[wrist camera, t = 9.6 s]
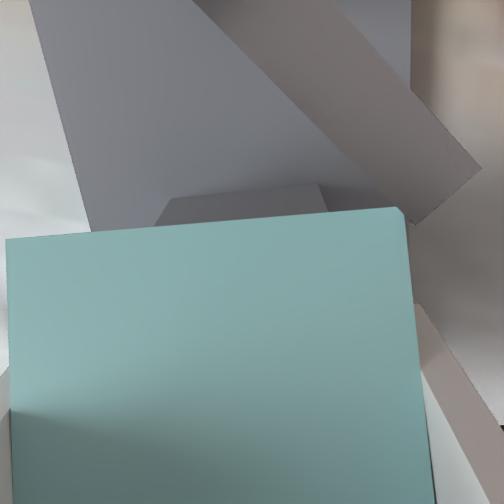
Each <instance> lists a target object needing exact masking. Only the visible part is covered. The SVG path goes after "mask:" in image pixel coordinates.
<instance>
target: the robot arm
mask: <svg viewBox="0 0 504 504" xmlns="http://www.w3.org/2000/svg"><path fill="white" fill-rule="evenodd" d="M414 313H415V322H416V332H417V341H418V350H419V360H420V371H421V379H422V388H423V397H424V407H425V416H426V425H427V435H428V444H429V453H430V463H431V472H432V481H433V491H434V500H435V504H504V425H499V424H498V422H497V421H496V419H495V418H494V416H493V415H492V413H491V412H490V410H489V409H488V407H487V405H486V404H485V402H484V401H483V399H482V398H481V396H480V395H479V393H478V392H477V390H476V389H475V387H474V386H473V384H472V383H471V381H470V380H469V378H468V376H467V375H466V373H465V372H464V370H463V369H462V367H461V366H460V364H459V363H458V361H457V360H456V358H455V357H454V355H453V354H452V352H451V351H450V349H449V347H448V346H447V344H446V343H445V341H444V340H443V338H442V337H441V335H440V334H439V332H438V331H437V329H436V328H435V326H434V325H433V323H432V322H431V320H430V318H429V317H428V315H427V314H426V312H425V311H424V309H423V308H422V306H421V305H420V303H418V304H414ZM0 504H13V474H12V440H11V407H10V373H9V367H8V368H7V369H6V370H5V372H4V373H3V374H2V376H1V377H0Z"/></svg>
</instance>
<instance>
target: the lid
mask: <svg viewBox="0 0 504 504" xmlns="http://www.w3.org/2000/svg"><path fill="white" fill-rule="evenodd" d="M6 272H7V306H8V339H9V373H10V407H11V440H12V474H13V504H435V500H434V491H433V481H432V472H431V463H430V453H429V444H428V435H427V425H426V416H425V407H424V397H423V388H422V379H421V371H420V360H419V350H418V341H417V332H416V322H415V313H414V303H413V294H412V285H411V275H410V266H409V257H408V247H407V238H406V229H405V219H404V214H403V213H402V212H401V211H400V210H399V209H398V208H397V207H386V208H374V209H362V210H350V211H338V212H326V213H314V214H302V215H290V216H278V217H266V218H254V219H242V220H230V221H218V222H206V223H194V224H182V225H170V226H158V227H146V228H134V229H122V230H110V231H98V232H86V233H74V234H62V235H50V236H38V237H26V238H14V239H6Z"/></svg>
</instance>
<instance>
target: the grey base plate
mask: <svg viewBox="0 0 504 504" xmlns="http://www.w3.org/2000/svg"><path fill="white" fill-rule="evenodd" d="M332 1H333V2H334V3H335V4H336V6H337V7H338V8H339V9H340V10H341V11H342V12H343V13H344V15H345V16H346V17H347V18H348V19H349V20H350V21H351V22H352V23H353V25H354V26H355V27H356V28H357V29H358V30H359V31H360V32H361V34H362V35H363V36H364V37H365V38H366V39H367V40H368V41H369V43H370V44H371V45H372V46H373V47H374V48H375V49H376V50H377V52H378V53H379V54H380V55H381V56H382V57H383V58H384V59H385V61H386V62H387V63H388V64H389V65H390V66H391V67H392V68H393V70H394V71H395V72H396V73H397V74H398V75H399V76H400V77H401V78H402V80H403V81H404V82H405V83H406V84H407V85H408V86H409V87H410V71H411V0H332ZM29 3H30V7H31V10H32V14H33V18H34V21H35V25H36V29H37V33H38V36H39V40H40V44H41V47H42V51H43V55H44V59H45V62H46V66H47V70H48V73H49V77H50V81H51V84H52V88H53V92H54V96H55V99H56V103H57V107H58V110H59V114H60V118H61V121H62V125H63V129H64V133H65V136H66V140H67V144H68V147H69V151H70V155H71V158H72V162H73V166H74V170H75V173H76V177H77V181H78V184H79V188H80V192H81V195H82V199H83V203H84V207H85V210H86V214H87V218H88V221H89V225H90V229H91V232H98V231H110V230H122V229H134V228H146V227H158V226H170V225H182V224H194V223H206V222H218V221H230V220H242V219H254V218H266V217H278V216H290V215H302V214H314V213H326V212H338V211H350V210H362V209H374V208H386V207H396V206H395V205H394V204H393V203H392V202H391V201H390V200H389V199H388V198H387V197H386V196H385V195H384V194H383V193H382V192H381V191H380V190H379V189H378V188H377V187H376V186H375V185H374V184H373V183H372V182H371V181H370V180H369V179H368V178H367V177H366V176H365V175H364V174H363V173H362V172H361V171H360V170H359V169H358V168H357V167H356V166H355V165H354V163H353V162H352V161H351V160H350V159H349V158H348V157H347V156H346V155H345V154H344V153H343V152H342V151H341V150H340V149H339V148H338V147H337V146H336V145H335V144H334V143H333V142H332V141H331V140H330V139H329V138H328V137H327V136H326V135H325V134H324V133H323V132H322V131H321V130H320V129H319V128H318V127H317V126H316V125H315V124H314V123H313V122H312V121H311V120H310V119H309V118H308V117H307V116H306V115H305V114H304V113H303V112H302V111H301V110H300V109H299V108H298V107H297V106H296V105H295V104H294V103H293V102H292V101H291V100H290V99H289V98H288V97H287V96H286V95H285V94H284V93H283V92H282V91H281V90H280V89H279V88H278V87H277V86H276V85H275V84H274V83H273V82H272V81H271V80H270V79H269V78H268V77H267V76H266V74H265V73H264V72H263V71H262V70H261V69H260V68H259V67H258V66H257V65H256V64H255V63H254V62H253V61H252V60H251V59H250V58H249V57H248V56H247V55H246V54H245V53H244V52H243V51H242V50H241V49H240V48H239V47H238V46H237V45H236V44H235V43H234V42H233V41H232V40H231V39H230V38H229V37H228V36H227V35H226V34H225V33H224V32H223V31H222V30H221V29H220V28H219V27H218V26H217V25H216V24H215V23H214V22H213V21H212V20H211V19H210V18H209V17H208V16H207V15H206V14H205V13H204V12H203V11H202V10H201V9H200V8H199V7H198V6H197V5H196V4H195V3H194V2H193V1H192V0H29ZM404 219H405V229H406V238H407V247H408V220H409V219H408V218H407V217H406V216H405V215H404Z"/></svg>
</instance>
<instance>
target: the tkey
mask: <svg viewBox="0 0 504 504" xmlns="http://www.w3.org/2000/svg"><path fill="white" fill-rule="evenodd" d="M192 1H193V2H194V3H195V4H196V5H197V6H198V7H199V8H200V9H201V10H202V11H203V12H204V13H205V14H206V15H207V16H208V17H209V18H210V19H211V20H212V21H213V22H214V23H215V24H216V25H217V26H218V27H219V28H220V29H221V30H222V31H223V32H224V33H225V34H226V35H227V36H228V37H229V38H230V39H231V40H232V41H233V42H234V43H235V44H236V45H237V46H238V47H239V48H240V49H241V50H242V51H243V52H244V53H245V54H246V55H247V56H248V57H249V58H250V59H251V60H252V61H253V62H254V63H255V64H256V65H257V66H258V67H259V68H260V69H261V70H262V71H263V72H264V73H265V74H266V76H267V77H268V78H269V79H270V80H271V81H272V82H273V83H274V84H275V85H276V86H277V87H278V88H279V89H280V90H281V91H282V92H283V93H284V94H285V95H286V96H287V97H288V98H289V99H290V100H291V101H292V102H293V103H294V104H295V105H296V106H297V107H298V108H299V109H300V110H301V111H302V112H303V113H304V114H305V115H306V116H307V117H308V118H309V119H310V120H311V121H312V122H313V123H314V124H315V125H316V126H317V127H318V128H319V129H320V130H321V131H322V132H323V133H324V134H325V135H326V136H327V137H328V138H329V139H330V140H331V141H332V142H333V143H334V144H335V145H336V146H337V147H338V148H339V149H340V150H341V151H342V152H343V153H344V154H345V155H346V156H347V157H348V158H349V159H350V160H351V161H352V162H353V163H354V165H355V166H356V167H357V168H358V169H359V170H360V171H361V172H362V173H363V174H364V175H365V176H366V177H367V178H368V179H369V180H370V181H371V182H372V183H373V184H374V185H375V186H376V187H377V188H378V189H379V190H380V191H381V192H382V193H383V194H384V195H385V196H386V197H387V198H388V199H389V200H390V201H391V202H392V203H393V204H394V205H395V206H396V207H397V208H398V209H399V210H400V211H401V212H402V213H403V214H404V215H405V216H406V217H407V218H408V219H409V220H410V221H411V222H412V223H413V224H414V225H416V224H418V223H419V222H420V221H421V220H422V219H423V218H425V217H426V216H427V215H428V214H429V213H430V212H432V211H433V210H434V209H435V208H436V207H437V206H439V205H440V204H441V203H442V202H443V201H444V200H445V199H447V198H448V197H449V196H450V195H451V194H452V193H454V192H455V191H456V190H457V189H458V188H459V187H461V186H462V185H463V184H464V183H465V182H466V181H468V180H469V179H470V178H471V177H472V176H473V175H475V174H476V173H477V172H478V171H479V170H480V169H482V168H481V167H480V166H479V165H478V164H477V163H476V162H475V160H474V159H473V158H472V157H471V156H470V155H469V154H468V153H467V151H466V150H465V149H464V148H463V147H462V146H461V145H460V144H459V142H458V141H457V140H456V139H455V138H454V137H453V136H452V135H451V133H450V132H449V131H448V130H447V129H446V128H445V127H444V126H443V124H442V123H441V122H440V121H439V120H438V119H437V118H436V117H435V116H434V114H433V113H432V112H431V111H430V110H429V109H428V108H427V107H426V105H425V104H424V103H423V102H422V101H421V100H420V99H419V98H418V96H417V95H416V94H415V93H414V92H413V91H412V90H411V89H410V87H409V86H408V85H407V84H406V83H405V82H404V81H403V80H402V78H401V77H400V76H399V75H398V74H397V73H396V72H395V71H394V70H393V68H392V67H391V66H390V65H389V64H388V63H387V62H386V61H385V59H384V58H383V57H382V56H381V55H380V54H379V53H378V52H377V50H376V49H375V48H374V47H373V46H372V45H371V44H370V43H369V41H368V40H367V39H366V38H365V37H364V36H363V35H362V34H361V32H360V31H359V30H358V29H357V28H356V27H355V26H354V25H353V23H352V22H351V21H350V20H349V19H348V18H347V17H346V16H345V15H344V13H343V12H342V11H341V10H340V9H339V8H338V7H337V6H336V4H335V3H334V2H333V1H332V0H192Z"/></svg>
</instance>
